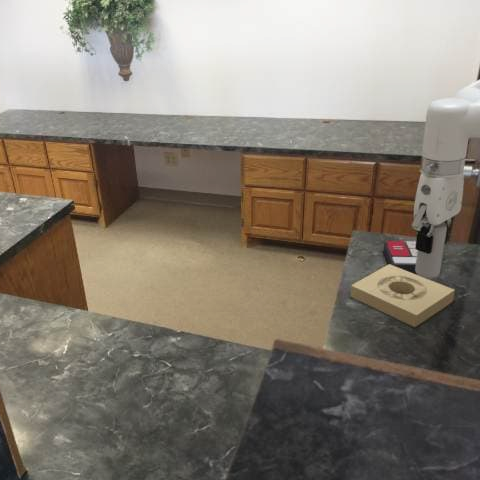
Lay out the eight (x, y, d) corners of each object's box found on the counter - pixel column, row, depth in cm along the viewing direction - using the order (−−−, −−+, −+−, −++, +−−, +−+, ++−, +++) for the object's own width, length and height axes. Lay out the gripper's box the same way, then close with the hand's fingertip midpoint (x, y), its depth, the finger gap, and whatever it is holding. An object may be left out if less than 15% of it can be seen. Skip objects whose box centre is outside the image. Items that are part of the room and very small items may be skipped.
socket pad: (452, 301, 127) (455, 289, 125) (414, 327, 119) (416, 315, 118) (388, 275, 140) (389, 264, 139) (350, 296, 133) (351, 285, 132)
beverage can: (411, 275, 110) (417, 225, 105) (419, 265, 113) (426, 217, 108) (434, 281, 107) (442, 230, 102) (443, 272, 110) (450, 221, 105)
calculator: (424, 239, 148) (437, 262, 135) (423, 253, 150) (435, 277, 137) (384, 239, 151) (393, 262, 138) (383, 252, 153) (391, 276, 140)
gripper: (436, 180, 92) (424, 267, 100) (485, 156, 100) (470, 238, 108) (398, 172, 98) (390, 254, 106) (447, 150, 106) (436, 228, 114)
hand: (431, 245), depth 107 cm, fingers closed on beverage can, 4 cm apart
